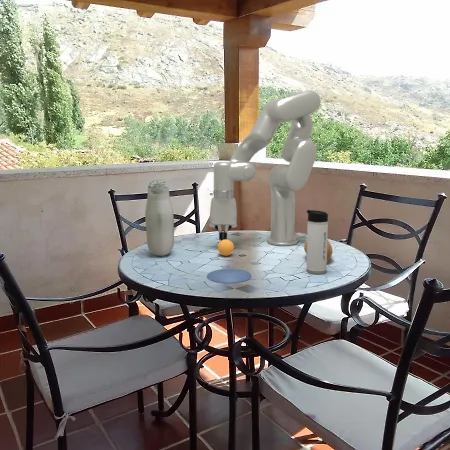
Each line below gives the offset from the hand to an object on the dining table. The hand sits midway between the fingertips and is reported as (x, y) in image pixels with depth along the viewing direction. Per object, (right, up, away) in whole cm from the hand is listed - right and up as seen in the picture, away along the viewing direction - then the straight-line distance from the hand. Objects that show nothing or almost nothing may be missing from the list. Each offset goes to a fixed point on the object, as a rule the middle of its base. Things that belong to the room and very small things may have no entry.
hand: (222, 241), depth 170 cm
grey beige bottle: (-23, -5, -6) cm, 24 cm away
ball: (+1, -2, -9) cm, 9 cm away
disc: (+2, -9, -32) cm, 33 cm away
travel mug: (+30, -9, -29) cm, 43 cm away
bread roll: (+34, -6, -15) cm, 37 cm away
